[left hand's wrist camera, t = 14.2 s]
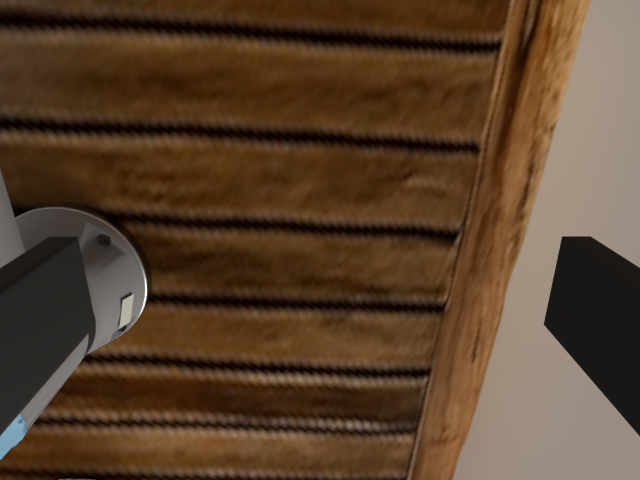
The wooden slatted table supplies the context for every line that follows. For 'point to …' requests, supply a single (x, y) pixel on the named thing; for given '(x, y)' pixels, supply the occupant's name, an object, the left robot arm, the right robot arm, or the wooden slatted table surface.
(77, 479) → the fossil
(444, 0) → the wooden slatted table surface
